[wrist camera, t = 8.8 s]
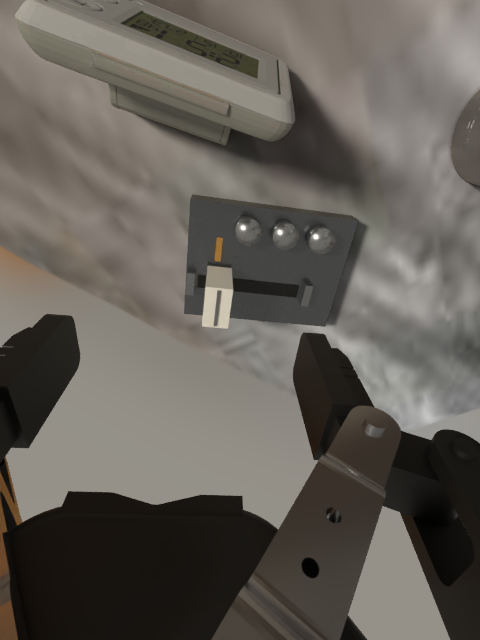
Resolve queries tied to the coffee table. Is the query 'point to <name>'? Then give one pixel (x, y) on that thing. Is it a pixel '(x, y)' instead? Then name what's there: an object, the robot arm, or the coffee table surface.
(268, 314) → the console
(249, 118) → the digital clock
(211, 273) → the fader tab
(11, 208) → the coffee table surface
